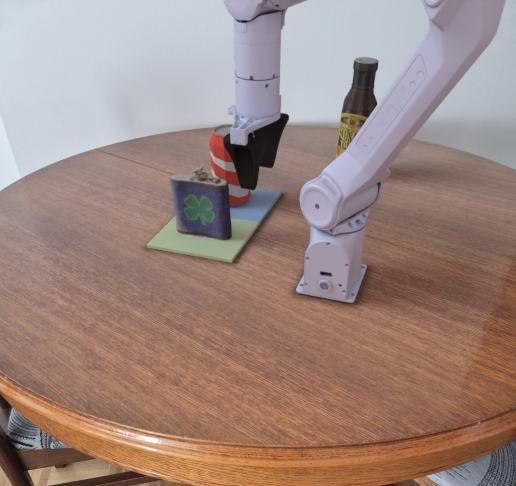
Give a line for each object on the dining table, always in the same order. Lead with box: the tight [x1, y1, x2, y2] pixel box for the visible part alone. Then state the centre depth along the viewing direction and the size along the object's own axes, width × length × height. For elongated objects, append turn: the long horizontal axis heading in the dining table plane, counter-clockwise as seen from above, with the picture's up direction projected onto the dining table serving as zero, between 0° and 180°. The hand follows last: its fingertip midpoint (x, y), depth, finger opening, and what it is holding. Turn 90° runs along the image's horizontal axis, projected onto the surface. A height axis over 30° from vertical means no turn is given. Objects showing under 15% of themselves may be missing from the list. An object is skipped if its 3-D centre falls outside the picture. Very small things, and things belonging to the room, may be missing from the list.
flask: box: [169, 164, 232, 241], centre depth 82 cm, size 9×3×11 cm, turn 70°
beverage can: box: [208, 123, 251, 206], centre depth 90 cm, size 6×6×12 cm
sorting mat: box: [146, 187, 283, 264], centre depth 90 cm, size 24×14×1 cm, turn 160°
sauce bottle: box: [334, 56, 379, 160], centre depth 96 cm, size 7×6×20 cm
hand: (257, 177), depth 77 cm, fingers open, 7 cm apart
